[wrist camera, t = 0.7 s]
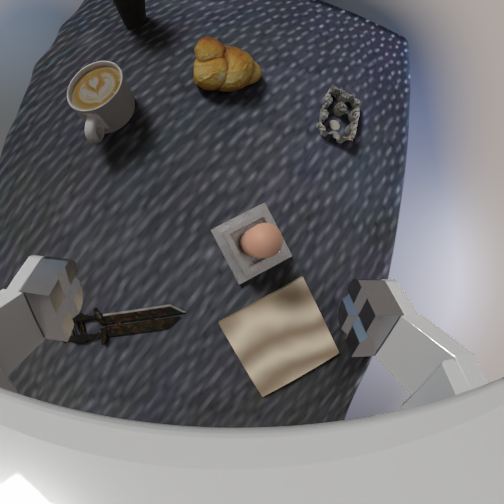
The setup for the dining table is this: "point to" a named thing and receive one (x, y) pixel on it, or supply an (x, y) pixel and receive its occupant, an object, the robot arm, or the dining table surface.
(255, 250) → the dowel
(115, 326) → the knife
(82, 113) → the coffee mug
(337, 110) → the egg carton
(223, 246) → the holder
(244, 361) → the board
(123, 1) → the drinking cup
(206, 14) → the dining table surface
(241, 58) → the bread roll
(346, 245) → the dining table surface
